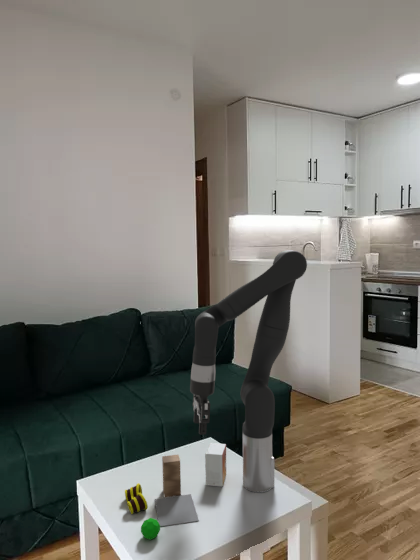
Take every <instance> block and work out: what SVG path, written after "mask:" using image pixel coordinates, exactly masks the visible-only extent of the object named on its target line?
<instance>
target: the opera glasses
mask: <svg viewBox="0 0 420 560" xmlns="http://www.w3.org/2000/svg"><path fill="white" fill-rule="evenodd" d="M124 496H125V501H126V503H127V508H128V510H129V513H130V512H131V513H130V514H131V515H133V514H134V513H136V512H137V513H138V512H141V511H146V510H148V507H149V505H148V502H147V500H146V497H145V496H144V495H143V488H142V485H141V484H140V483H136V485H134V486H131V487H130V488H128V489H124Z"/></svg>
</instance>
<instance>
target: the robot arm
mask: <svg viewBox="0 0 420 560" xmlns="http://www.w3.org/2000/svg"><path fill="white" fill-rule="evenodd" d="M307 268H308V261H307V258H306V257H305V255H304V254H303V253H301V252H299V251H298V250H292V249H290V250H289V249H288V250H287V249H285V250H283V251H281V252H279V253H278V254H276V256H275V257H274V259H273V262H272V265H271V266H270V267H269V268H267V270H266V271H264V272H263V273H262V274H259V276H257V277H255V278H254V279H252V280H251V281H249V282H247V283H245V284H244V285H241V286H240V287H238V288H237V289H236V290H234V291H232V292H230V293H229V294H228V295H227V296H226V297H224V298H222V300H221V301H219V302H218V303H215V304H214V305H211V306H210V307H209V308H207V309H205V310H204V311H202V312H201V313H200V314H199V315H198V316H196V318H195V321H194V346H193V353H192V365H191V370H190V371H191V372H190V382H189V383H190V384H189V391H190V393H191V394H192V395H193V398H192V408H193V423H194V424H198V425H199V426H198V434H199V435H200V436H201V435H204V436H205V435H206V434H207V428H208V427H207V426H208V424H209V423H210V421H211V420H210V418H211V417H210V416H211V402H210V400H209V398H208V397H209V396H212V395H213V394H214V393H215V383H216V358H217V348H216V347H217V342H218V337H219V335H218V334H219V328H220V327H222V326H223V325H224V324H226V323H227V322H230V321H233V320H235V319H236V318H238V317H240V316H241V315H243V314H244V313H245V312H246V311H248V310H249V309H251V307H253V306H255V305H256V304H257V303H259V302H260V301H262V299H264V298H265V297H266V298H265V302H264V305H263V309H262V312H261V314H260V315H261V316H260V318H259V322H258V326H257V330H256V335H255V340H254V343H253V347H252V353H251V357H250V361H249V365H248V368H247V371H246V374H245V375H244V376H245V377H244V380H243V382H242V383H241V384H242V385H241V387H240V399H241V401H242V403H243V404H244V405H243V406H244V411H245V413H244V422H242V485H243V488H245V489H246V490H247V491H250V492H252V493H265V492H268V491H270V490H271V489H274V488H275V457H274V456H273V428H274V424H275V411H276V410H275V409H276V408H275V407H276V406H275V405H276V402H275V396H274V395H275V394H274V393H273V391H272V390H271V388H270V387H269V382H270V375H271V371H272V367H273V366H274V364H275V361H276V360H277V358H278V356H279V355H280V354H281V352H282V350H283V348H284V346H285V343H286V341H287V336H288V332H289V327H290V320H291V302H292V301H291V299H292V294H293V290H294V287H295V283H296V281H297V280H298V279H300V278H302V277H303V276H304V275H305V273H306V270H307ZM204 416H205V418H204Z"/></svg>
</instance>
